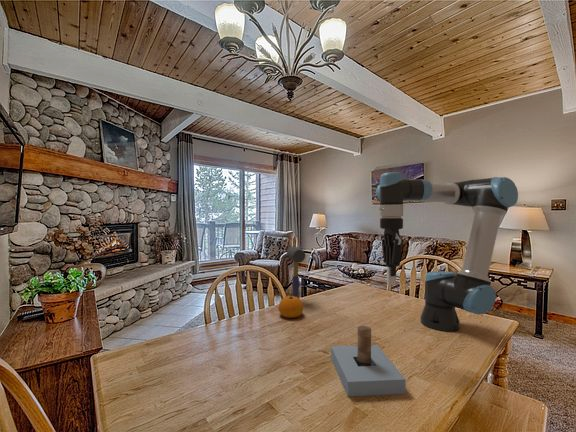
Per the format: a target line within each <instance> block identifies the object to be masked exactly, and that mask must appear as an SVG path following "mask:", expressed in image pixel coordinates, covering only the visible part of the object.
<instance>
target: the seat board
mask: <svg viewBox="0 0 576 432" xmlns="http://www.w3.org/2000/svg"><path fill="white" fill-rule="evenodd" d="M357 357H358V345H335V346H334V345H333V346H330V359H331V362H332V364H333V366H334V369H335V370H336V372H337V375H338V377H339V380H340V382H341V384H342V387H343V389H344V391H345V393H346V396H347V397H365V396H366V397H367V396H369V397H370V396H387V395H389V396H390V395H406V385H407V381H406V378H405V377H404V376H403V374H402V373H401V372H400V371H399V370H398V368H397V367H396V366H395V365H394V363H393V362H392V361H391V359H390V358H389V357H388V356H387V355H386V354H385V353H384V351H383V350H382V348H381V347H380V346H379V345H378V344H371V360H372V363H371V366H359V367H358V365H357Z"/></svg>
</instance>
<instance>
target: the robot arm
mask: <svg viewBox="0 0 576 432" xmlns="http://www.w3.org/2000/svg"><path fill="white" fill-rule="evenodd" d="M375 196H376V198H377V199H378V200H379V202H380V203H379V206H380V207H379V208H378V209H379V215H380V219H379V225H380V226H379V228H380V229H381V230H384V231H383V235H380V240H381V247H382V259H383V263H385V266H386V285H388V286H397V267H399V266H401V257H402V251H403V250H402V249H403V245H404V239H403V238H401V237H400V230H402V229H404V219H403V216H404V202H422V203H423V202H425V203H426V202H429V203H430V202H431V203H432V202H433V203H445V204H446V205H455V206H463V207H471V210H472V211H473V212H474V217H473V220H472V225H471V229H470V232H469V233H470V234H469V238H468V243H467V246H466V251H465V255H464V260H463V263H462V264H463V265H462V269H461V270H459V271H458V272H456V273H455V271H447V270H446V271H445V270H439V271H438V270H436V271H435V270H434V271H429V272H427V273H426V274H425V280H424V306H423V309H422V310H421V311H422V312H421V315H420V323H421V324H422V325H424V326H425V327H427V328H429V329H433V330H437V331H441V332H442V331H444V332H455V331H458V330H459V329H460V328H461V327H460V320H459V317H458V313H457V309H460V310H463V311H466V312H467V313H473V314H476V315H485V314H486V313H488V312H489V311H491V309H492V308H493V307H494V305H495V303H496V301H497V300H496V299H497V294H496V290H495V288H494V287H493V286H491V285H492V281H491V279H490V278H489V271H490V267H491V262H492V258H493V254H494V253H493V252H494V249H495V244H496V240H497V236H498V231H499V226H500V222H501V218H502V217H503V216H504V215H505V216H506V214H507V212H508V208H511V207H514V206H515V205H516V204H517V203H518V199H519V191H518V188H517V186H516V184H515V182H514V181H513V180H512V179H511V178H509V177H505V176H502V177H500V176H499V177H498V176H495V177H489V178H479V179H478V178H477V179H468V180H462V181H457V182H446V183H445V184H444V183H442V184H441V183H440V184H437V183H431V181H429V180H427V179H422V178H419V179H418V178H416V179H415V178H412V179H411V178H404V173H402V172H401V171H400V172H399V171H395V172H394V171H392V172H384V173H382V174H381V175H380V178H379V184H378V185H377V187H376V190H375ZM456 308H457V309H456Z"/></svg>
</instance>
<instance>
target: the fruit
mask: <svg viewBox="0 0 576 432" xmlns="http://www.w3.org/2000/svg"><path fill="white" fill-rule="evenodd" d="M278 311H279V313H280V315H281V316H283V317H284V318H287V319H288V318H289V319H294V318H298V317H300V316H302V314H303V311H304V304H303V302H302V300H301V299H300V297H299V298H298V297H295V296H293V294H290V295H288V296H285V297H283V298H282V299H281V300H280V302H279V303H278Z"/></svg>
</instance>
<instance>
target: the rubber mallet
mask: <svg viewBox="0 0 576 432" xmlns="http://www.w3.org/2000/svg"><path fill="white" fill-rule="evenodd" d="M286 255H287V257H288V258H289V259H290V260H291V261H293V270H292V271H293V274H292V279H291V281H292V282H291V287H292V296H295V297H298V298H299V299H300V295H299V294H300V277H299V263H302V262H303V261H304V260H305V259H306V253H305V251H304V250H303V249H301V248H300V247H297V246H290V247H288V249H287V250H286Z"/></svg>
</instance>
